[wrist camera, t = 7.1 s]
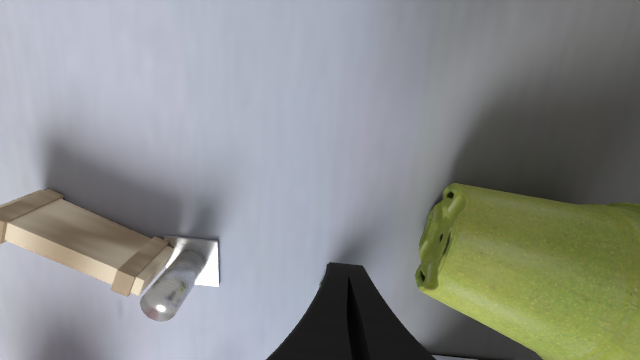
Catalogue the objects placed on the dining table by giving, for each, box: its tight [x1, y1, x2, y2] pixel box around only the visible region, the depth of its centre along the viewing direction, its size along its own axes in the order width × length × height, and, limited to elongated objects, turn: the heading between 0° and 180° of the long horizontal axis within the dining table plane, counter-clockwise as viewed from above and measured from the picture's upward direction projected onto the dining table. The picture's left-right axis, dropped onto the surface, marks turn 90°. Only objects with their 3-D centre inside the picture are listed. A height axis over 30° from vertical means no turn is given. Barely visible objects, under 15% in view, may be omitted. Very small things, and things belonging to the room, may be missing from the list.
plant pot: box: [415, 183, 640, 360], centre depth 16 cm, size 9×9×9 cm
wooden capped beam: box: [0, 189, 174, 297], centre depth 19 cm, size 9×2×4 cm, turn 63°
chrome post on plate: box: [140, 235, 219, 321], centre depth 19 cm, size 4×4×4 cm
